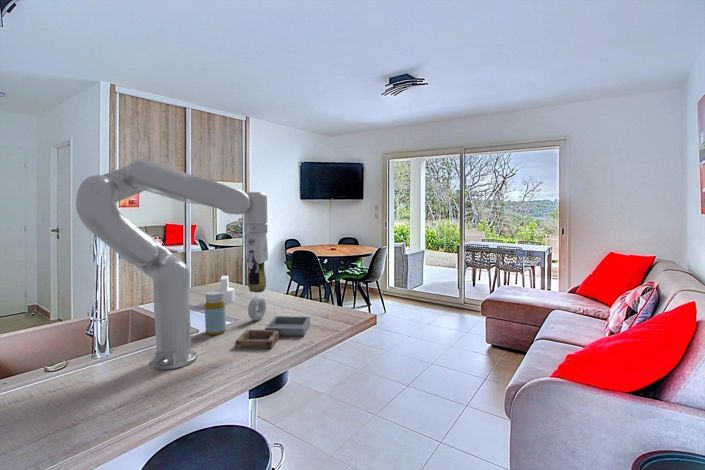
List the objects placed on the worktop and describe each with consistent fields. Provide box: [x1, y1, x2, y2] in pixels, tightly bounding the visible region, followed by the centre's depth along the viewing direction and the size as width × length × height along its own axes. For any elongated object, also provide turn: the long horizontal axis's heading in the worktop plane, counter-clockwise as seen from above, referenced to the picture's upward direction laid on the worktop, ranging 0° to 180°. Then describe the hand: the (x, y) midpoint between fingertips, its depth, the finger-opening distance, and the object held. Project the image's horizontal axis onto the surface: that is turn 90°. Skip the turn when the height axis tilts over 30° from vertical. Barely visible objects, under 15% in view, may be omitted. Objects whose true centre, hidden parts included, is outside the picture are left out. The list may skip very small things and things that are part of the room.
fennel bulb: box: [247, 262, 267, 293], centre depth 124 cm, size 6×5×12 cm
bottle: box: [204, 290, 227, 336], centre depth 135 cm, size 7×7×15 cm
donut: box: [247, 295, 267, 321], centre depth 150 cm, size 10×4×10 cm, turn 159°
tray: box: [264, 315, 311, 338], centre depth 138 cm, size 14×14×3 cm
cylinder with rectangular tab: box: [214, 275, 236, 304], centre depth 179 cm, size 9×9×12 cm
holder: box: [235, 329, 281, 350], centre depth 126 cm, size 11×12×2 cm
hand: (256, 282), depth 124 cm, fingers closed on fennel bulb, 4 cm apart
